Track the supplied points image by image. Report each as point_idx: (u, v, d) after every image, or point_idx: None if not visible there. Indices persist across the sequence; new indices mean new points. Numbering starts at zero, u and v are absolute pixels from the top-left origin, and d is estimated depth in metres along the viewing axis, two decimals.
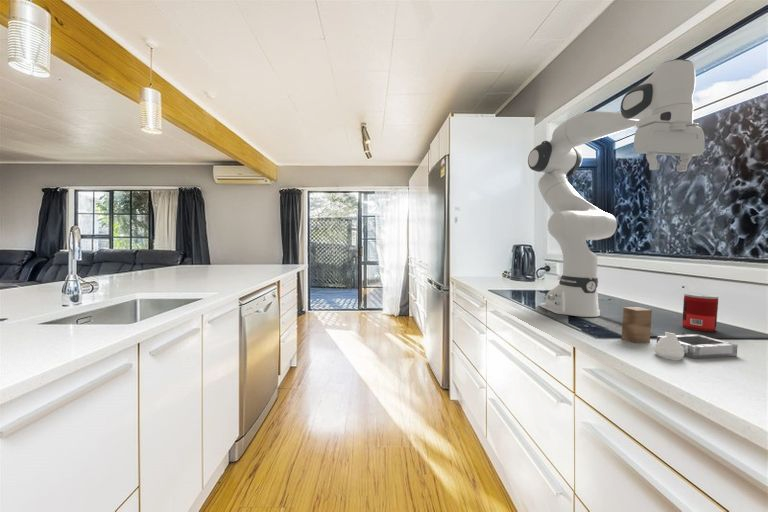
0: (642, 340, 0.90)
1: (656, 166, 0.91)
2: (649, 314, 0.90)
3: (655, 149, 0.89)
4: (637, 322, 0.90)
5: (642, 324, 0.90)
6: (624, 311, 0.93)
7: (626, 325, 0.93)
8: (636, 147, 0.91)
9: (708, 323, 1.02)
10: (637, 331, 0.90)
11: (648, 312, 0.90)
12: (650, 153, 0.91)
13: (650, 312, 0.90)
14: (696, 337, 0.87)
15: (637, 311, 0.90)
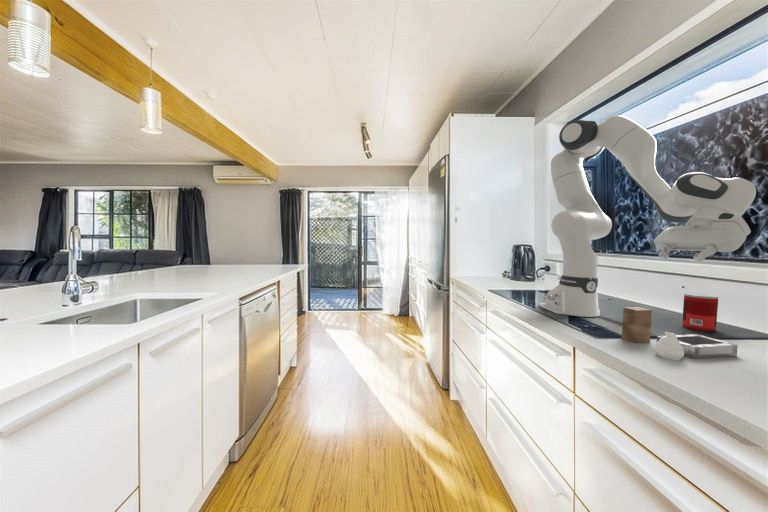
0: (642, 340, 0.90)
1: None
2: (649, 314, 0.90)
3: None
4: (637, 322, 0.90)
5: (642, 324, 0.90)
6: (624, 311, 0.93)
7: (626, 325, 0.93)
8: (732, 242, 0.84)
9: (708, 323, 1.02)
10: (637, 331, 0.90)
11: (648, 312, 0.90)
12: (714, 249, 0.87)
13: (650, 312, 0.90)
14: (696, 337, 0.87)
15: (637, 311, 0.90)
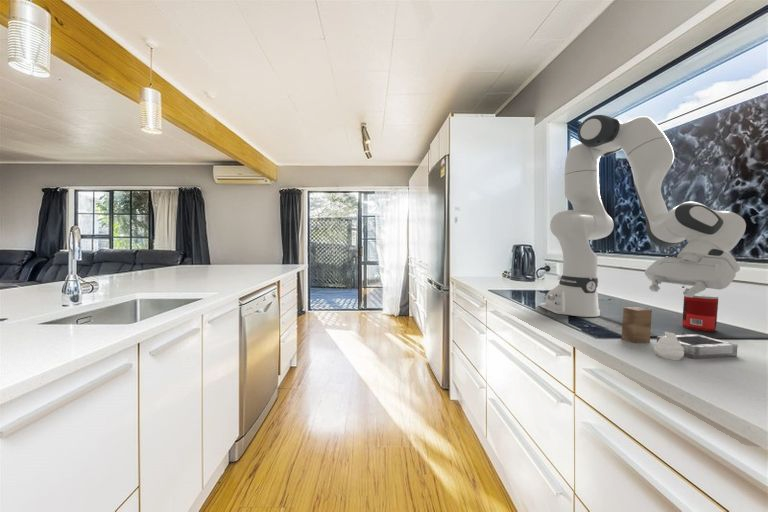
0: (642, 340, 0.90)
1: None
2: (649, 314, 0.90)
3: None
4: (637, 322, 0.90)
5: (642, 324, 0.90)
6: (624, 311, 0.93)
7: (626, 325, 0.93)
8: (722, 280, 0.84)
9: (708, 323, 1.02)
10: (637, 331, 0.90)
11: (648, 312, 0.90)
12: (704, 285, 0.87)
13: (650, 312, 0.90)
14: (696, 337, 0.87)
15: (637, 311, 0.90)
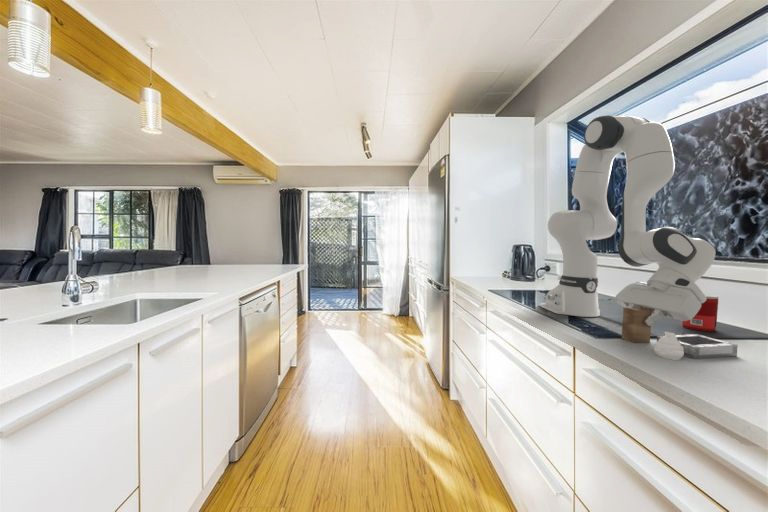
0: (642, 340, 0.90)
1: None
2: (649, 314, 0.90)
3: None
4: (637, 322, 0.90)
5: (642, 324, 0.90)
6: (624, 311, 0.93)
7: (626, 325, 0.93)
8: (686, 312, 0.83)
9: (708, 323, 1.02)
10: (637, 331, 0.90)
11: (648, 312, 0.90)
12: (662, 314, 0.88)
13: (650, 312, 0.90)
14: (696, 337, 0.87)
15: (637, 311, 0.90)
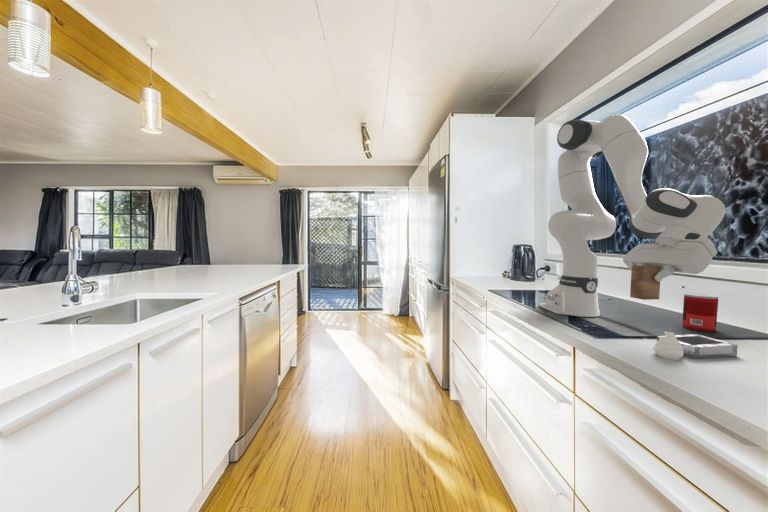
0: (651, 297, 0.89)
1: None
2: (658, 270, 0.89)
3: None
4: (646, 278, 0.88)
5: (651, 280, 0.88)
6: (632, 269, 0.91)
7: (634, 283, 0.91)
8: (697, 264, 0.81)
9: (708, 323, 1.02)
10: (646, 288, 0.88)
11: (657, 269, 0.88)
12: (672, 269, 0.86)
13: (659, 268, 0.89)
14: (696, 337, 0.87)
15: (646, 267, 0.88)
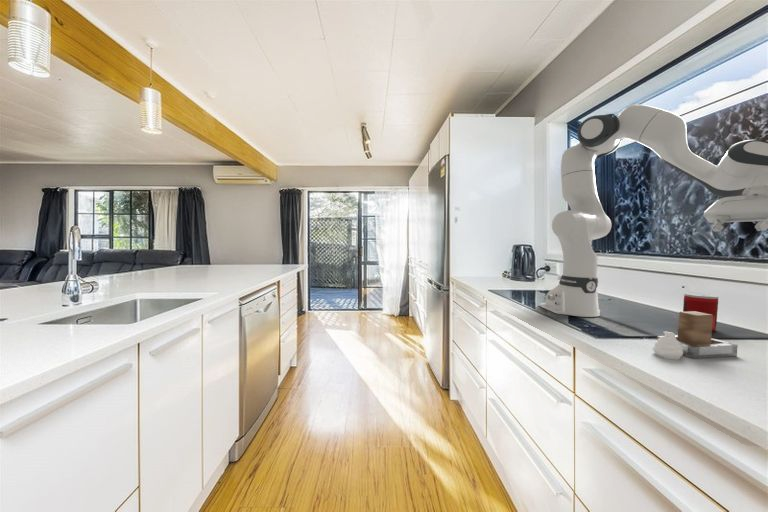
0: None
1: None
2: (710, 319, 0.82)
3: None
4: (697, 328, 0.81)
5: (702, 330, 0.81)
6: (680, 316, 0.84)
7: (683, 332, 0.84)
8: None
9: None
10: (697, 338, 0.81)
11: (709, 317, 0.82)
12: None
13: (711, 317, 0.82)
14: None
15: (697, 316, 0.81)
